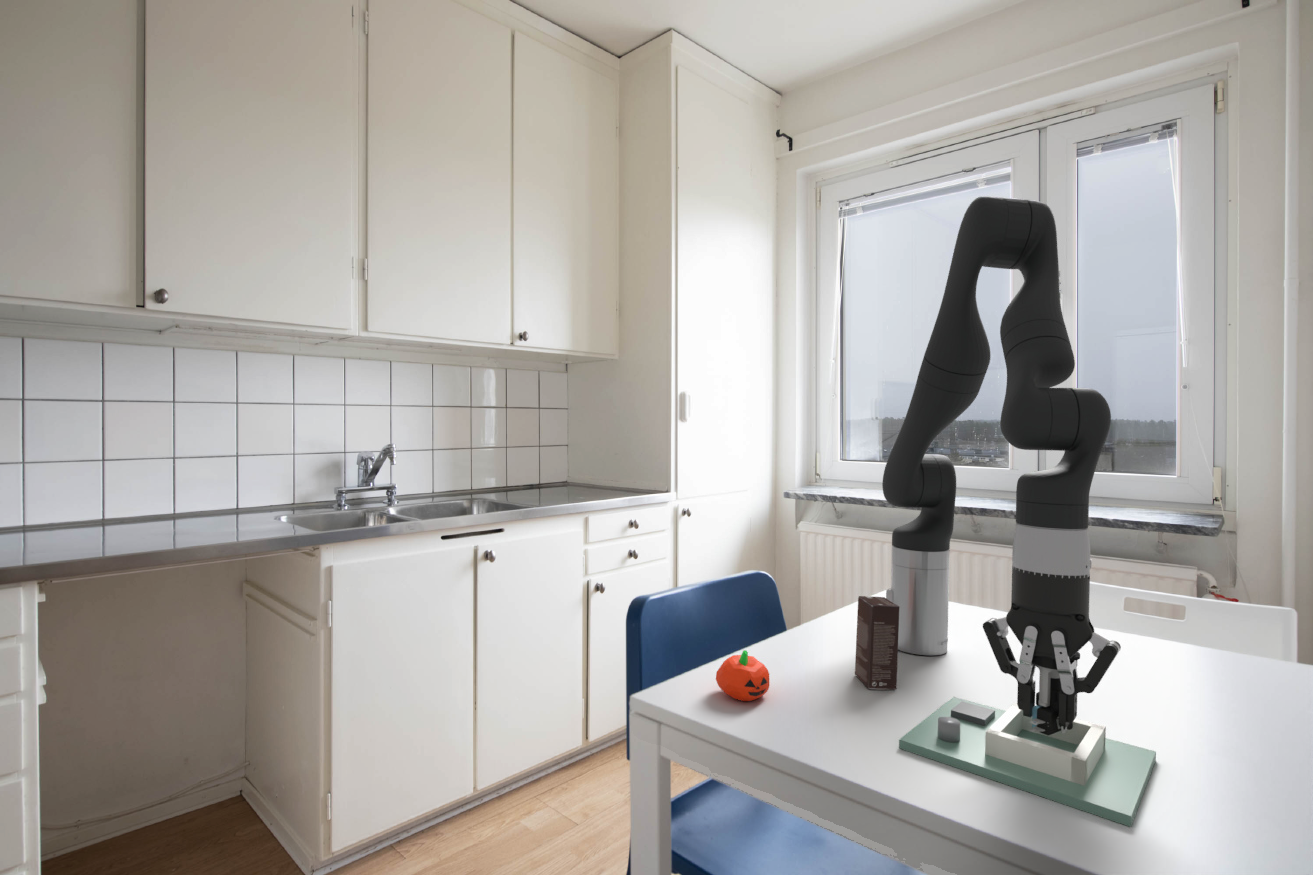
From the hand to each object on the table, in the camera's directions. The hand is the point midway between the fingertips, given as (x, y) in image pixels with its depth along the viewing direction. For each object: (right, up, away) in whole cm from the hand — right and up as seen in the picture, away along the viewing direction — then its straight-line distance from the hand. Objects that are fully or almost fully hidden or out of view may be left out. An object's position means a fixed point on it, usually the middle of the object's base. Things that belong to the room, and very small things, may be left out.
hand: (1046, 718), depth 75 cm
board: (-2, -5, +1) cm, 5 cm away
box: (-12, -5, +23) cm, 26 cm away
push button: (+1, -2, +1) cm, 2 cm away
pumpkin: (-32, -4, +17) cm, 36 cm away
